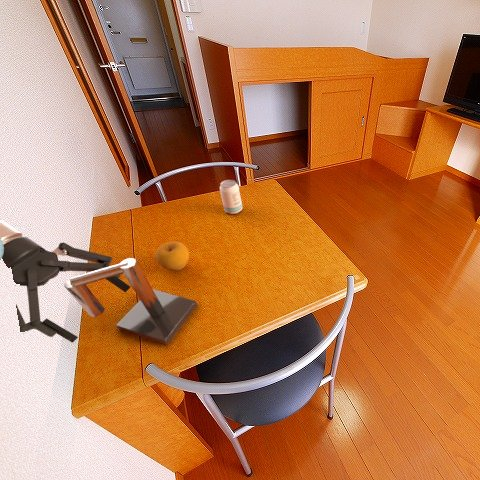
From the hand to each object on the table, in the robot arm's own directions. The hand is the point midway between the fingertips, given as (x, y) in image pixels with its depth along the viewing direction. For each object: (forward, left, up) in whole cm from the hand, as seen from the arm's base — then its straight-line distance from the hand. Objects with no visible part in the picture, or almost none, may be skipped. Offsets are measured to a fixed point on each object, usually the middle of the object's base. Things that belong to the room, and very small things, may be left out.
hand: (104, 312), depth 61 cm
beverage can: (+47, +32, -10) cm, 57 cm away
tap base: (+9, 0, -10) cm, 13 cm away
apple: (+19, +15, -10) cm, 26 cm away
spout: (+4, +1, -7) cm, 8 cm away
